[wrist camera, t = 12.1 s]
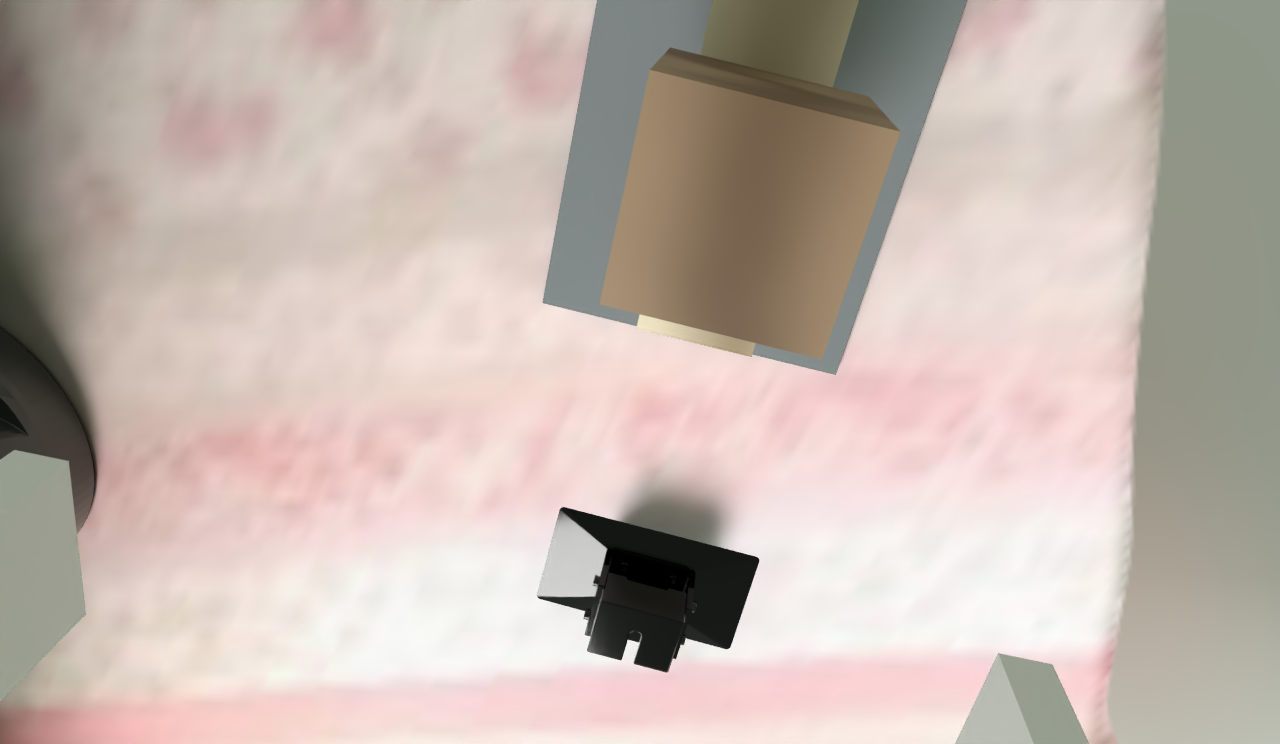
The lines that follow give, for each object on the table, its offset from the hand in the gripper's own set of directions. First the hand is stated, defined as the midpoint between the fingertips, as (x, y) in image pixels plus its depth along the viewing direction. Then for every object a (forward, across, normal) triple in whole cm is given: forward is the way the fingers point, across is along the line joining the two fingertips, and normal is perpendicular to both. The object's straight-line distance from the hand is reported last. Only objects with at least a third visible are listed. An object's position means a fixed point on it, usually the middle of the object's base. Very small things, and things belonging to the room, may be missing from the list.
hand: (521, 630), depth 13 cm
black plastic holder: (+24, +3, -17) cm, 30 cm away
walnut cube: (+18, +3, +3) cm, 18 cm away
